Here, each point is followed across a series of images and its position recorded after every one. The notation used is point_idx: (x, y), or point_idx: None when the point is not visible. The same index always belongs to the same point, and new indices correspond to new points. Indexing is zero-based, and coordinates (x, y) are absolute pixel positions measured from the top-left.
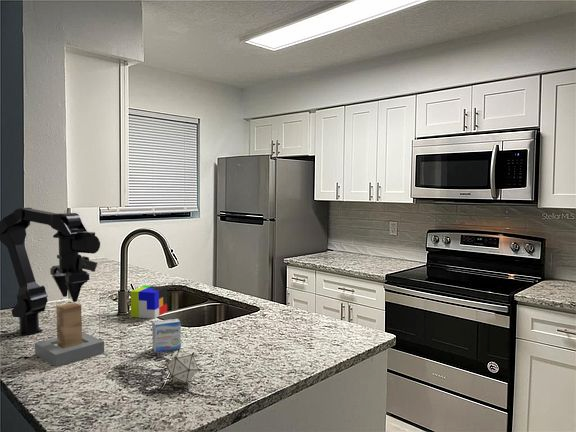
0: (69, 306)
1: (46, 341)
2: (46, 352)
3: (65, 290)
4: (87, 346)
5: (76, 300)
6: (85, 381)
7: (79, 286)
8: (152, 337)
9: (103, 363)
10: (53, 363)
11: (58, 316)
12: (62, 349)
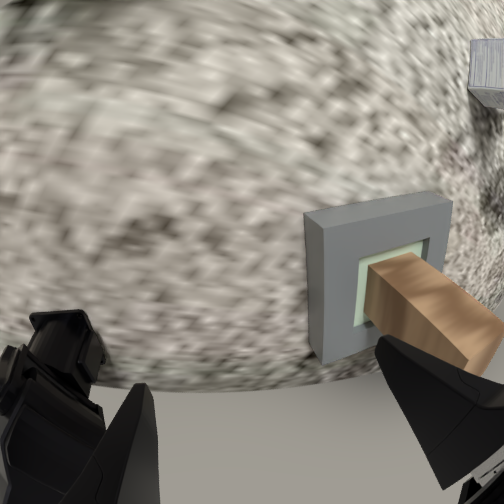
0: (485, 363)
1: (335, 342)
2: None
3: (145, 436)
4: (445, 249)
5: (393, 341)
6: (477, 266)
7: (490, 397)
8: (490, 91)
9: (462, 218)
10: None
11: None
12: None
